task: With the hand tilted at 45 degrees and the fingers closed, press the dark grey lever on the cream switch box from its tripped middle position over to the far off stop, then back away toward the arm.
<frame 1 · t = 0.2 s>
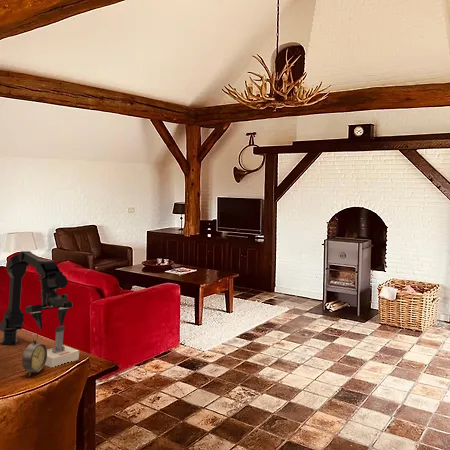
hand: (51, 327, 198), 15 cm above the table, tool tilted 15°, fingers open, 9 cm apart
alarm clock: (32, 373, 187), on the table
switch box: (57, 360, 203), on the table
breaker lever: (59, 338, 203), point 10 cm above the table, hinge at 0.0°
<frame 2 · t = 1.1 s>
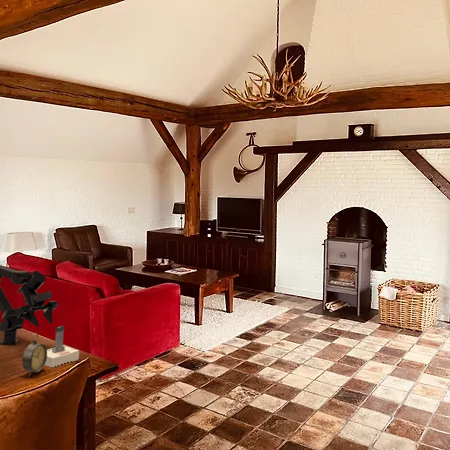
hand: (45, 325, 207), 13 cm above the table, tool tilted 45°, fingers open, 7 cm apart
nothing on the table moved.
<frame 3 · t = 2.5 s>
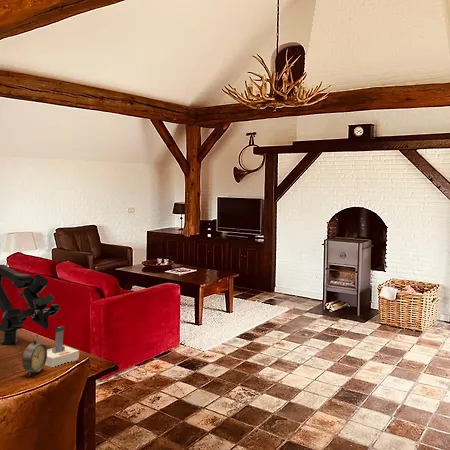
hand: (47, 328, 207), 12 cm above the table, tool tilted 45°, fingers closed
nothing on the table moved.
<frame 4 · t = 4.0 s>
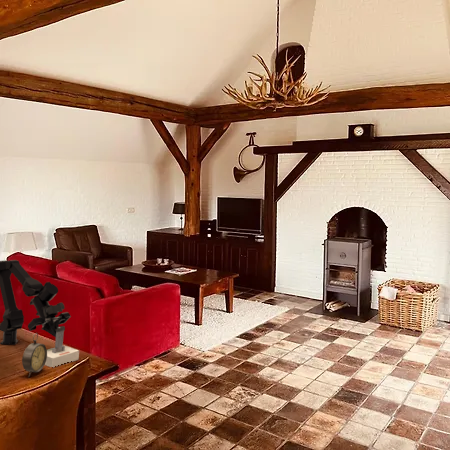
hand: (58, 337, 203), 10 cm above the table, tool tilted 45°, fingers closed, pressing on breaker lever
breaker lever: (59, 338, 203), point 10 cm above the table, hinge at 0.7°, touching gripper
everything else where it was.
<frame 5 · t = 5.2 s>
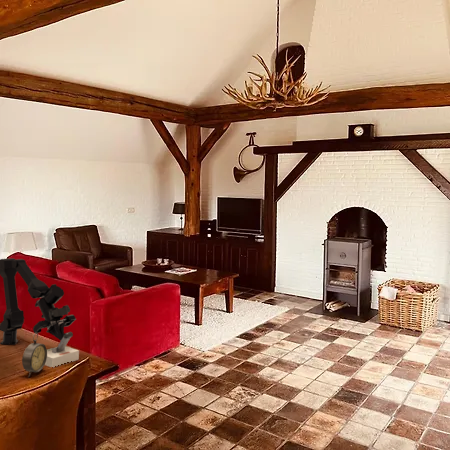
hand: (63, 340, 201), 9 cm above the table, tool tilted 45°, fingers closed, pressing on breaker lever
breaker lever: (63, 342, 201), point 9 cm above the table, hinge at 31.8°, touching gripper
everything else where it was.
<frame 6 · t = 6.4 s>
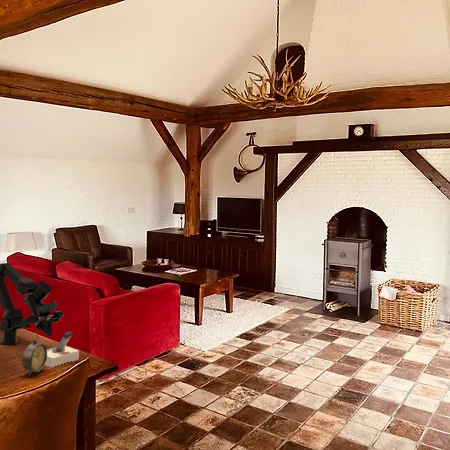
hand: (51, 335, 205), 10 cm above the table, tool tilted 45°, fingers closed
breaker lever: (64, 342, 201), point 9 cm above the table, hinge at 31.8°
everything else where it was.
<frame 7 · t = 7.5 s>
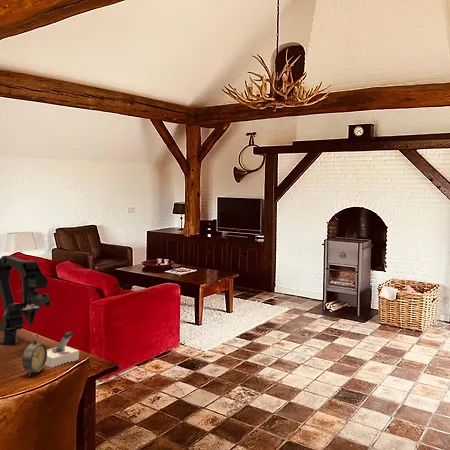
hand: (30, 324, 209), 12 cm above the table, tool pointing down, fingers closed
nothing on the table moved.
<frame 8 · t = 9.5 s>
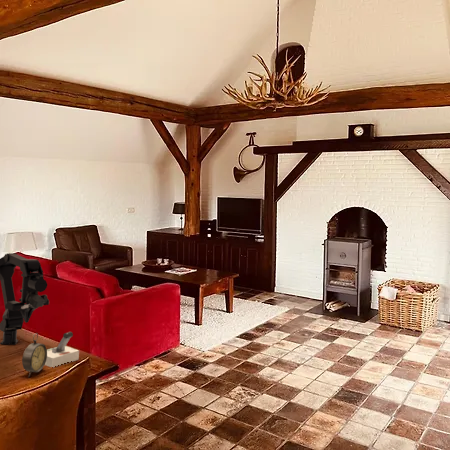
hand: (26, 322, 210), 13 cm above the table, tool pointing down, fingers closed
nothing on the table moved.
at the end: breaker lever at +32° (first picture: +0°); alarm clock moved 0.2 cm from its start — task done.
